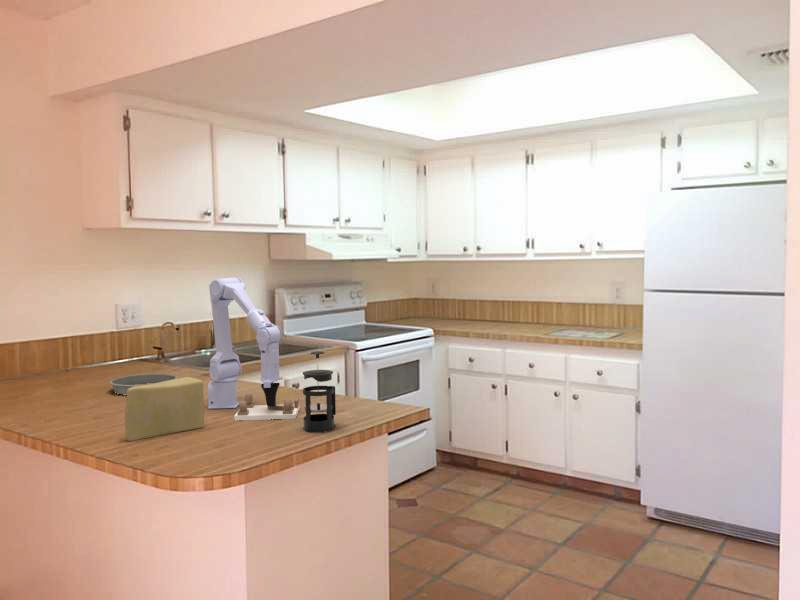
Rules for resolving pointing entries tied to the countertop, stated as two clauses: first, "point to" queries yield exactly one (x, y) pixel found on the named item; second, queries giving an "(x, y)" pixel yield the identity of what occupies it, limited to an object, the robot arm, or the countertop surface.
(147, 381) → the cake pan
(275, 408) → the hinged leg
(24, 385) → the countertop surface
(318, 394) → the french press
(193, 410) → the cheese
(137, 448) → the countertop surface
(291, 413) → the white board with posts
